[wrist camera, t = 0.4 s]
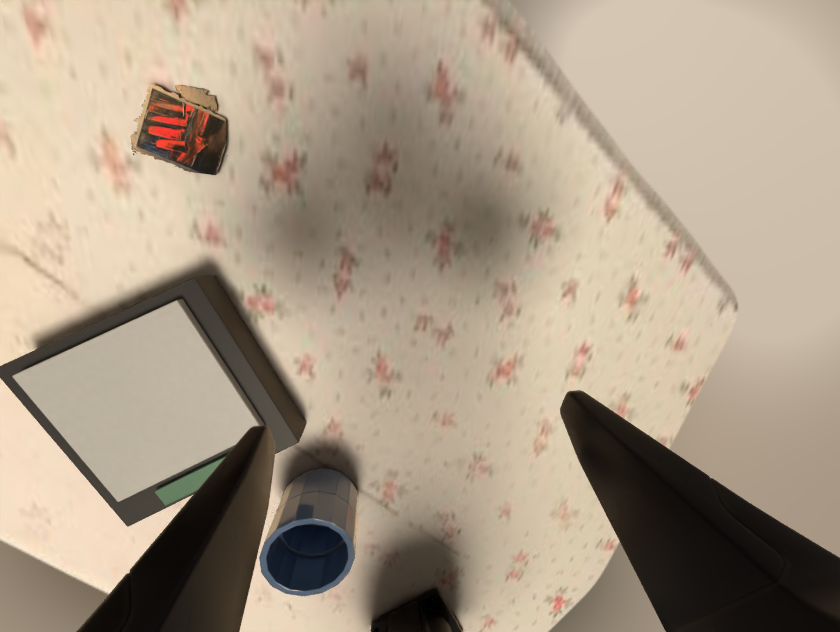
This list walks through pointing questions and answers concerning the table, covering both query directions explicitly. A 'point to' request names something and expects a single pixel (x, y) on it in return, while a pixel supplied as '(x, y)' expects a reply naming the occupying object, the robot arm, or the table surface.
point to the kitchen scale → (155, 396)
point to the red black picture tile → (181, 129)
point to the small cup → (312, 534)
